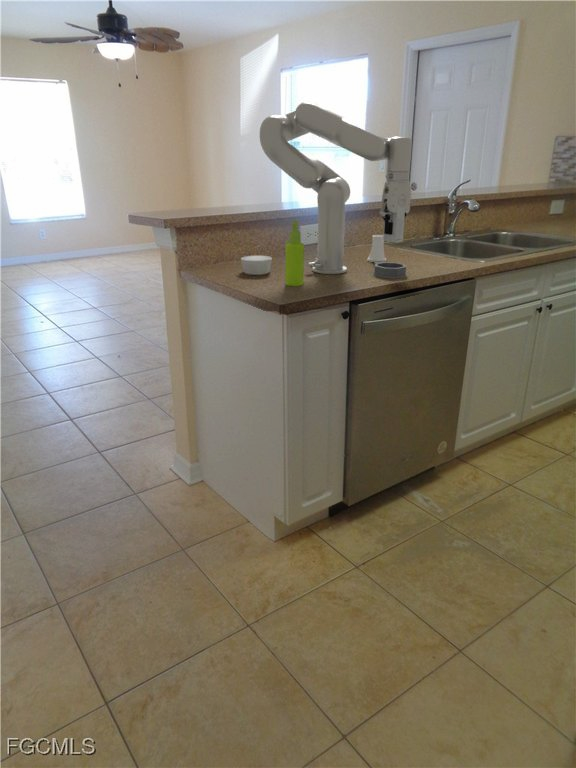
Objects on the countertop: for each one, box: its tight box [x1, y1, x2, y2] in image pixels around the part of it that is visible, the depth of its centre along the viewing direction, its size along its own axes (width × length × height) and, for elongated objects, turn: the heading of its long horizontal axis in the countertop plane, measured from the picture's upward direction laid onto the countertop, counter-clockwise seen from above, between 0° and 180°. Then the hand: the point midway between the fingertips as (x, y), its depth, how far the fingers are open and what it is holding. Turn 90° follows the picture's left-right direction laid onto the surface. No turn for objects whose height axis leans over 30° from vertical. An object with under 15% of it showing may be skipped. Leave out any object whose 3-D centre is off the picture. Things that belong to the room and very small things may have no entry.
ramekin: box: [240, 255, 273, 276], centre depth 198 cm, size 11×11×5 cm
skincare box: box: [382, 206, 406, 244], centre depth 189 cm, size 6×4×12 cm
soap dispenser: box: [285, 220, 305, 287], centre depth 179 cm, size 6×7×20 cm
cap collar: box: [372, 261, 407, 279], centre depth 196 cm, size 12×12×3 cm
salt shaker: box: [366, 234, 387, 264], centre depth 217 cm, size 8×8×10 cm
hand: (393, 232), depth 190 cm, fingers closed on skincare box, 4 cm apart
